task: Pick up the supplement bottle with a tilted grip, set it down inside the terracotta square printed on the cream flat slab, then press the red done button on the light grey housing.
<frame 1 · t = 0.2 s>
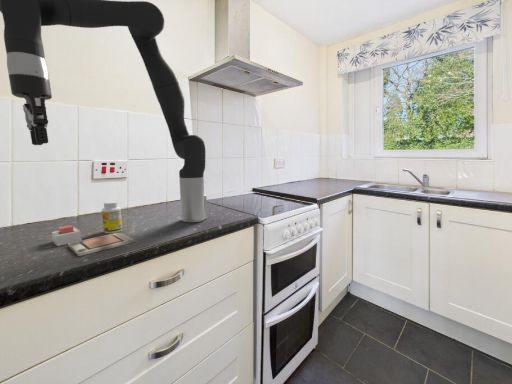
hand: (40, 144, 64), 29 cm above the countertop, fingers open, 8 cm apart
supplement bottle: (113, 232, 86), on the countertop
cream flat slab: (101, 244, 74), on the countertop
done button: (66, 230, 76), point 3 cm above the countertop, slide at 0.0 cm
done button housing: (67, 241, 77), on the countertop
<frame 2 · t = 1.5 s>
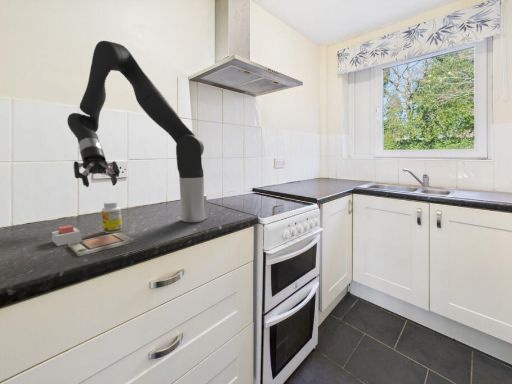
hand: (101, 184, 92), 15 cm above the countertop, fingers open, 8 cm apart
nothing on the countertop moved.
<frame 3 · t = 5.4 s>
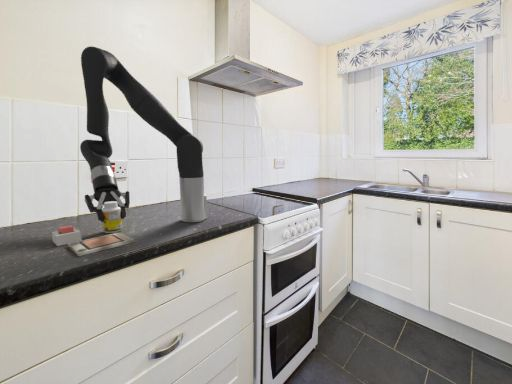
hand: (113, 218, 84), 5 cm above the countertop, fingers closed on supplement bottle, 5 cm apart
supplement bottle: (113, 231, 86), on the countertop, touching gripper
everything else where it was.
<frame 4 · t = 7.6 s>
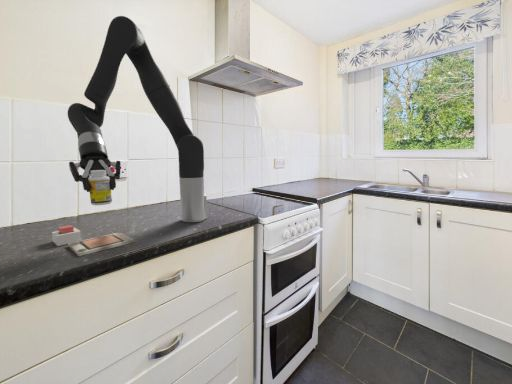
hand: (100, 189, 75), 16 cm above the countertop, fingers closed on supplement bottle, 5 cm apart
supplement bottle: (101, 204, 77), point 11 cm above the countertop, touching gripper
everything else where it was.
when the fingers open (7 cm above the countertop, at t = 10.1 s): supplement bottle drops 1 cm, resting on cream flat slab.
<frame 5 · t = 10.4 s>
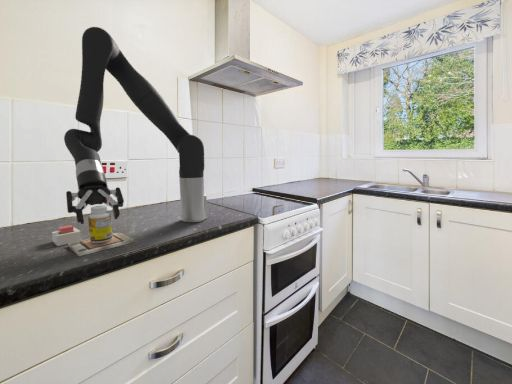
hand: (100, 219, 72), 8 cm above the countertop, fingers open, 8 cm apart
supplement bottle: (101, 241, 74), point 1 cm above the countertop, touching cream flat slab
everything else where it was.
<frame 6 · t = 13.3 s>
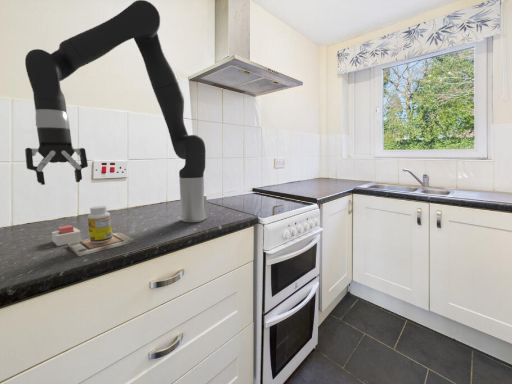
hand: (61, 183, 75), 18 cm above the countertop, fingers open, 8 cm apart
nothing on the countertop moved.
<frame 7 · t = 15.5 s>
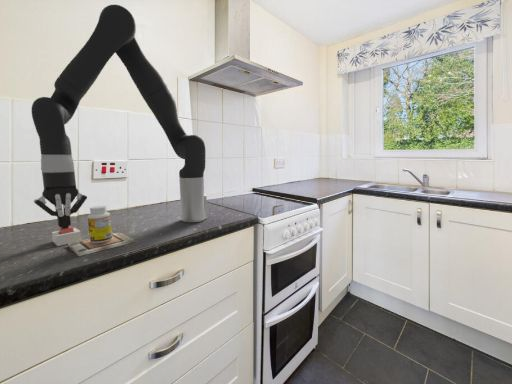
hand: (65, 227, 76), 4 cm above the countertop, fingers closed
done button: (66, 231, 76), point 3 cm above the countertop, slide at 0.3 cm, touching gripper
everything else where it was.
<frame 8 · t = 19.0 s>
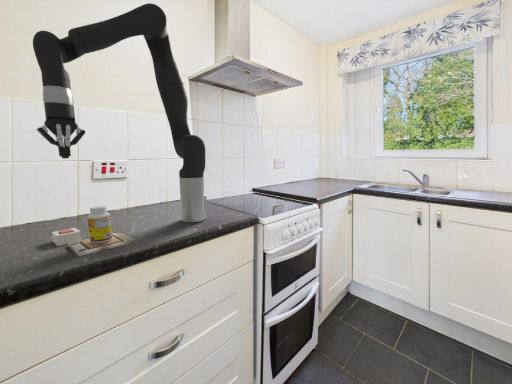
hand: (65, 158, 83), 25 cm above the countertop, fingers closed
done button: (66, 234, 77), point 2 cm above the countertop, slide at 1.2 cm
everything else where it was.
at the end: supplement bottle 0.2 cm off-centre on the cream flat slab, point 0.7 cm above the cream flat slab's base; supplement bottle tilted 0°; done button slide at 1.2 cm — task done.
